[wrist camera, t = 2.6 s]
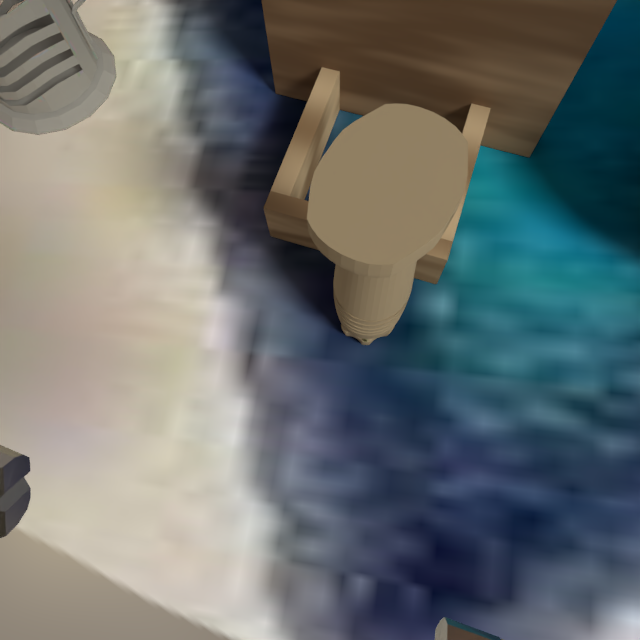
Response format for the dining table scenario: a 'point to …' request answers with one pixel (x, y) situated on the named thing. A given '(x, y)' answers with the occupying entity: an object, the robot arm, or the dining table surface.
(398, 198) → the handle
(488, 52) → the cleat board
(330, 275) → the dining table surface
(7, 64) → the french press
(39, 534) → the dining table surface
